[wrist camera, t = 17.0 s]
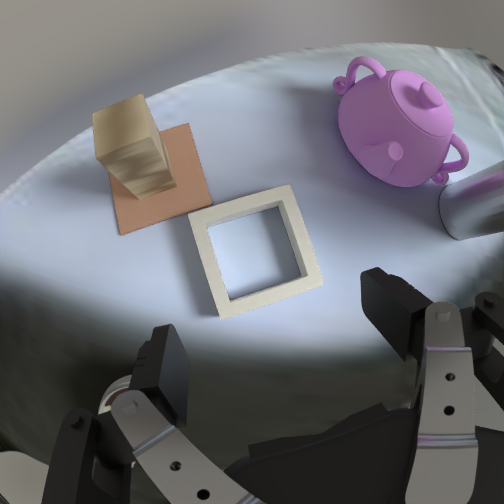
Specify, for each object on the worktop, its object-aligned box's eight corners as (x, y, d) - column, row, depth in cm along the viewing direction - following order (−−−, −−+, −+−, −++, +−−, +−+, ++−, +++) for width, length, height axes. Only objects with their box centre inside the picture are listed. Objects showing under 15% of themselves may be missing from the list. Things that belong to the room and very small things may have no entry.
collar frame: (285, 191, 34) (290, 183, 31) (316, 284, 34) (324, 284, 31) (191, 219, 33) (187, 214, 30) (221, 316, 32) (221, 320, 29)
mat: (189, 124, 34) (188, 122, 34) (212, 204, 34) (212, 203, 33) (107, 154, 33) (106, 152, 33) (122, 235, 32) (120, 234, 32)
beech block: (168, 152, 33) (142, 93, 20) (177, 186, 33) (150, 136, 20) (132, 165, 33) (92, 113, 20) (139, 199, 32) (95, 158, 19)
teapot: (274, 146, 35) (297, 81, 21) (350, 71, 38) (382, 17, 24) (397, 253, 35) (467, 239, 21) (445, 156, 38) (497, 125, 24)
